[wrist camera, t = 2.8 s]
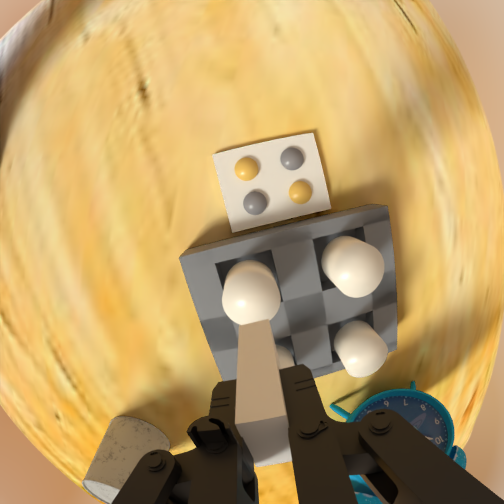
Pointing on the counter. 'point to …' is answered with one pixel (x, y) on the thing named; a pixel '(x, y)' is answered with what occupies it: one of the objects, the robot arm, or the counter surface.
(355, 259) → the button
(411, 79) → the counter surface
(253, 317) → the button
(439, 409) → the alarm clock
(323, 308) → the button board
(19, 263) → the counter surface
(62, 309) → the counter surface
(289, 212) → the card
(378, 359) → the button
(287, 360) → the button
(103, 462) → the speckled white tin can
